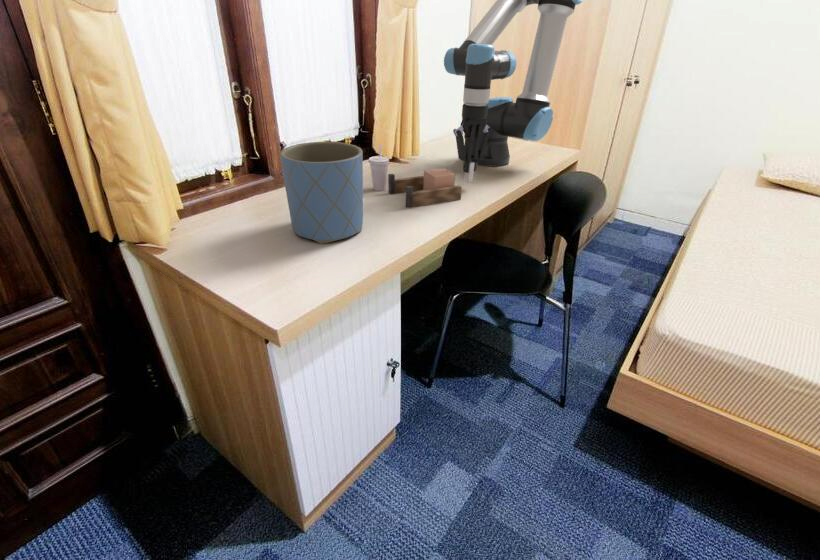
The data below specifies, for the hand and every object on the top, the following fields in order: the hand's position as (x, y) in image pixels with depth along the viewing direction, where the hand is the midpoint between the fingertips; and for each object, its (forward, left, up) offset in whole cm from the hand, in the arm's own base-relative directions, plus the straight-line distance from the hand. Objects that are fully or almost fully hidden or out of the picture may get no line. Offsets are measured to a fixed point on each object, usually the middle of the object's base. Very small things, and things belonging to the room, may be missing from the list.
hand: (468, 181), depth 139 cm
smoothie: (+26, -12, -3) cm, 29 cm away
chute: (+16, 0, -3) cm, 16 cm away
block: (+11, 0, -3) cm, 11 cm away
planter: (+50, +12, -3) cm, 52 cm away
